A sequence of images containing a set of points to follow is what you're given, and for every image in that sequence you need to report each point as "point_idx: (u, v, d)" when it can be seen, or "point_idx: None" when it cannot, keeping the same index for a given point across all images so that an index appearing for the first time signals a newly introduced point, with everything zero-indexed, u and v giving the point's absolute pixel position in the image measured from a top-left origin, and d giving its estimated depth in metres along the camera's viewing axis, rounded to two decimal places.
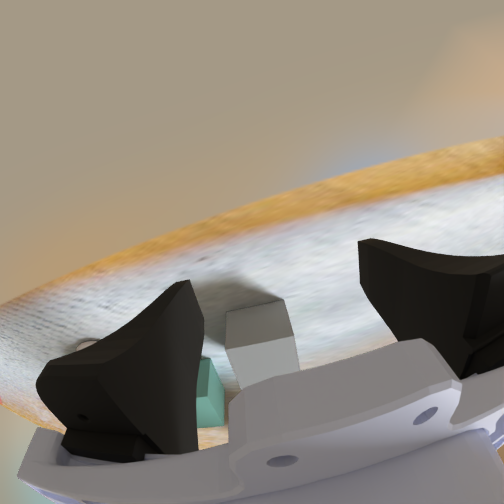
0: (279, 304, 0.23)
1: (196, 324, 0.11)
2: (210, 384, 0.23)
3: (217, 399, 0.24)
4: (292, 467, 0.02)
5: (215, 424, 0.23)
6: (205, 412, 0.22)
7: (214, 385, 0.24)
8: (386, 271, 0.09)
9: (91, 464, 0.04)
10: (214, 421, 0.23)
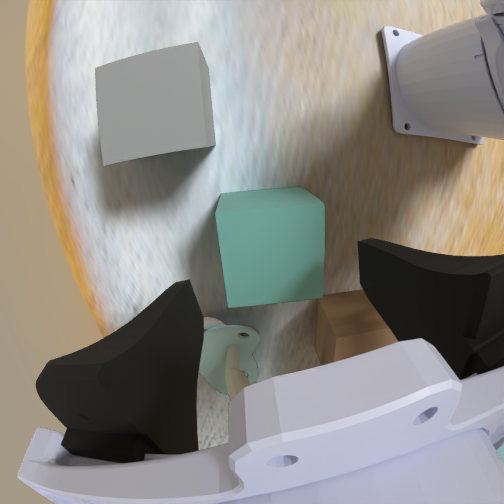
0: None
1: (196, 324, 0.11)
2: (228, 203, 0.14)
3: (271, 199, 0.14)
4: (292, 467, 0.02)
5: (316, 220, 0.13)
6: (268, 229, 0.13)
7: (249, 197, 0.15)
8: (386, 271, 0.09)
9: (91, 464, 0.04)
10: (303, 219, 0.13)
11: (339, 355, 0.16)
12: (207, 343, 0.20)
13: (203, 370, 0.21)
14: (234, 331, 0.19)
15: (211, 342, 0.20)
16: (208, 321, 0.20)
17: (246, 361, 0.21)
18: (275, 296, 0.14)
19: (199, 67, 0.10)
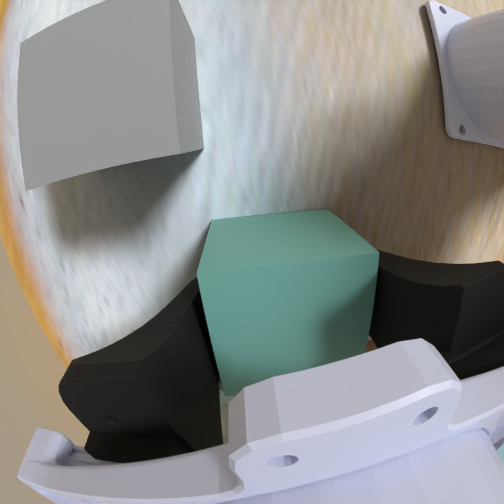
0: None
1: None
2: (220, 245, 0.09)
3: (289, 239, 0.09)
4: (292, 467, 0.02)
5: (364, 277, 0.08)
6: (286, 296, 0.08)
7: (253, 232, 0.10)
8: None
9: None
10: (344, 278, 0.08)
11: None
12: None
13: None
14: None
15: None
16: None
17: None
18: None
19: (170, 18, 0.05)
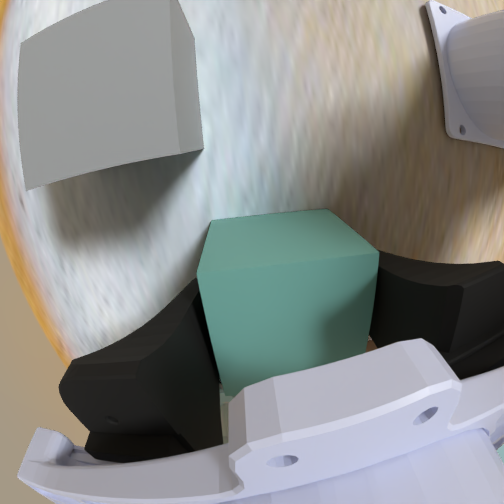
0: None
1: None
2: (220, 245, 0.09)
3: (289, 239, 0.09)
4: (292, 467, 0.02)
5: (364, 277, 0.08)
6: (286, 296, 0.08)
7: (253, 233, 0.10)
8: None
9: None
10: (344, 278, 0.08)
11: None
12: None
13: None
14: None
15: None
16: None
17: None
18: None
19: (170, 18, 0.05)
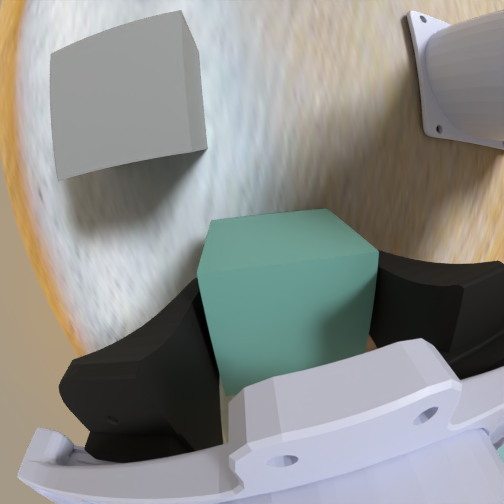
0: None
1: None
2: (221, 245, 0.09)
3: (288, 238, 0.09)
4: (292, 467, 0.02)
5: (364, 277, 0.08)
6: (286, 296, 0.08)
7: (253, 232, 0.10)
8: None
9: None
10: (343, 278, 0.08)
11: None
12: None
13: None
14: None
15: None
16: None
17: None
18: None
19: (182, 42, 0.07)
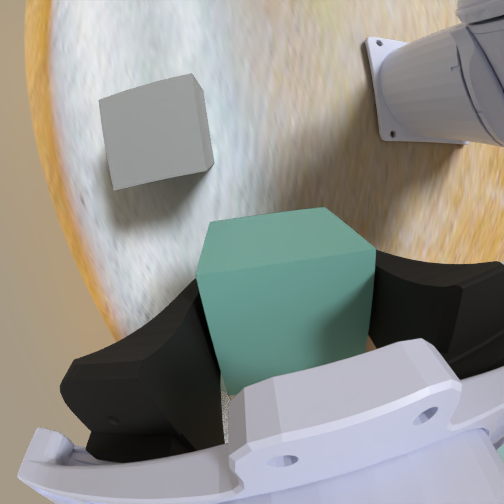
0: None
1: None
2: (219, 246, 0.09)
3: (286, 238, 0.09)
4: (292, 467, 0.02)
5: (362, 274, 0.08)
6: (285, 294, 0.08)
7: (251, 233, 0.10)
8: None
9: None
10: (342, 275, 0.08)
11: None
12: None
13: None
14: None
15: None
16: None
17: None
18: None
19: (195, 97, 0.12)
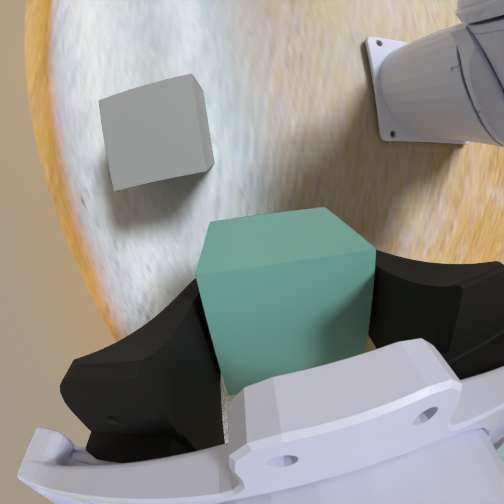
0: None
1: None
2: (219, 246, 0.09)
3: (286, 238, 0.09)
4: (292, 467, 0.02)
5: (362, 274, 0.08)
6: (285, 295, 0.08)
7: (251, 233, 0.10)
8: None
9: None
10: (342, 275, 0.08)
11: None
12: None
13: None
14: None
15: None
16: None
17: None
18: None
19: (195, 98, 0.12)
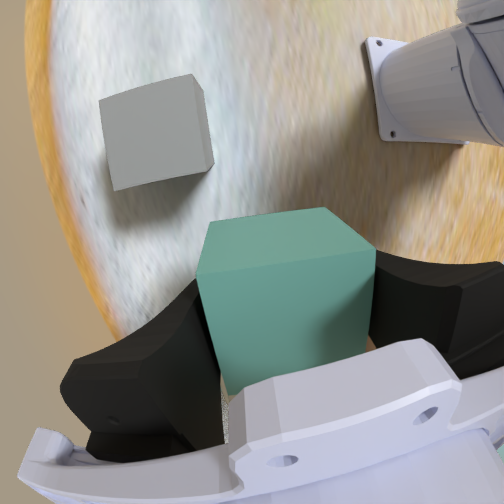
0: None
1: None
2: (219, 246, 0.09)
3: (286, 238, 0.09)
4: (292, 467, 0.02)
5: (362, 274, 0.08)
6: (285, 295, 0.08)
7: (251, 233, 0.10)
8: None
9: None
10: (342, 275, 0.08)
11: None
12: None
13: None
14: None
15: None
16: None
17: None
18: None
19: (195, 98, 0.12)
